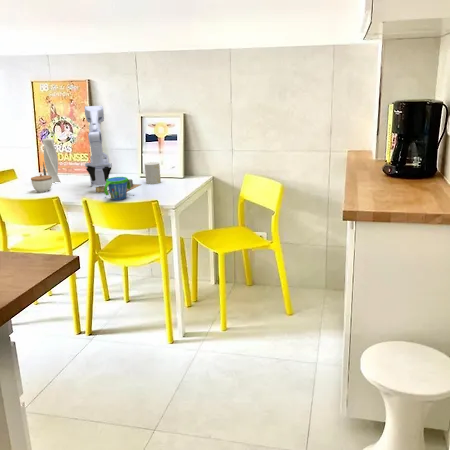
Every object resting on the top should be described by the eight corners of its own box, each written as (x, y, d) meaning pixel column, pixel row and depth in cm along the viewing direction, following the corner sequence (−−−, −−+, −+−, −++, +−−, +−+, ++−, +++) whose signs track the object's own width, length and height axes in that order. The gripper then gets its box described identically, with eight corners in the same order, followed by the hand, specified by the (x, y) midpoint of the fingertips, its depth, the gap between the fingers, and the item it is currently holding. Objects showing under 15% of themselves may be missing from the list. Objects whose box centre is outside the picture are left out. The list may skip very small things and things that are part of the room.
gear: (122, 187, 264) (121, 181, 263) (123, 185, 270) (122, 179, 269) (132, 187, 265) (131, 181, 264) (133, 185, 270) (132, 178, 269)
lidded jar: (57, 189, 273) (55, 172, 270) (44, 193, 264) (42, 176, 261) (41, 188, 277) (39, 172, 274) (28, 192, 267) (26, 175, 264)
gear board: (106, 193, 258) (105, 185, 257) (122, 185, 275) (121, 178, 274) (126, 194, 255) (126, 186, 254) (142, 186, 271) (141, 179, 270)
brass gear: (94, 194, 257) (93, 188, 256) (99, 192, 262) (99, 185, 261) (103, 194, 255) (102, 188, 254) (108, 192, 260) (108, 186, 259)
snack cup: (112, 203, 237) (110, 182, 234) (99, 200, 244) (97, 180, 241) (137, 196, 248) (135, 177, 245) (125, 194, 255) (123, 175, 252)
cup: (158, 186, 271) (156, 164, 267) (144, 186, 272) (142, 164, 269) (162, 183, 278) (161, 162, 275) (149, 183, 280) (147, 162, 276)
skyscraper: (57, 180, 297) (50, 133, 289) (63, 182, 292) (57, 134, 284) (44, 182, 291) (37, 135, 283) (50, 184, 286) (43, 136, 278)
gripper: (80, 156, 251) (83, 182, 255) (105, 156, 247) (108, 182, 251) (88, 154, 258) (91, 179, 261) (112, 154, 253) (115, 180, 257)
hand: (100, 180), depth 257 cm, fingers open, 7 cm apart
